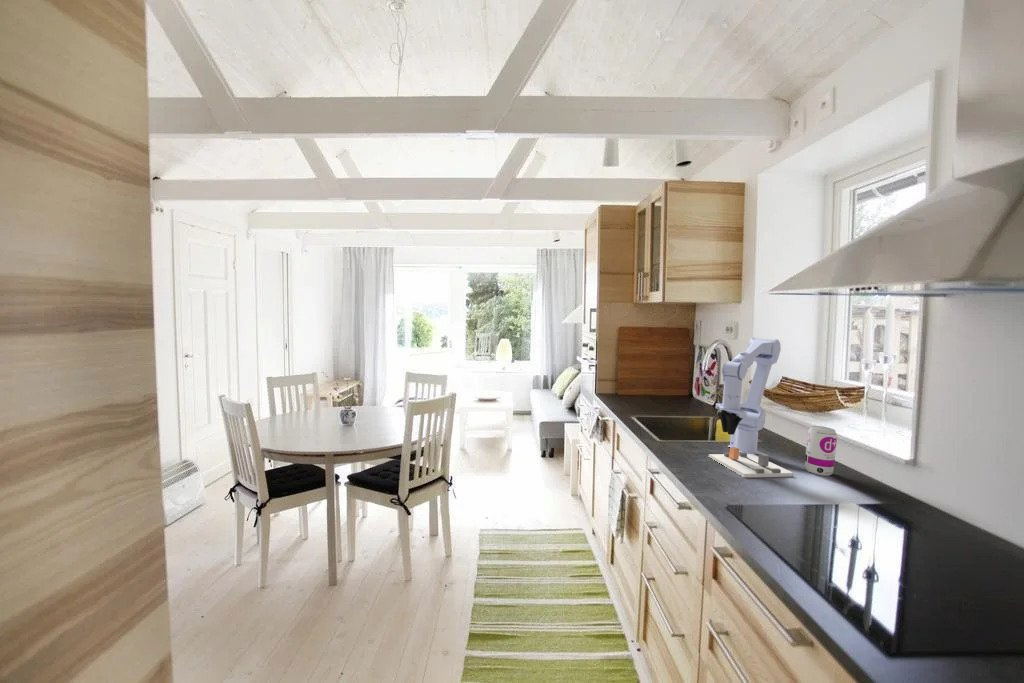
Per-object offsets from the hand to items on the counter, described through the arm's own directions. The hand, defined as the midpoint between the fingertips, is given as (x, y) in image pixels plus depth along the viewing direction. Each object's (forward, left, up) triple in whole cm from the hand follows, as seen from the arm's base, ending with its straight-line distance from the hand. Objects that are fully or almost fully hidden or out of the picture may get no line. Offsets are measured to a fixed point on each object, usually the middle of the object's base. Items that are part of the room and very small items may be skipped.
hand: (728, 433), depth 166 cm
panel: (+8, +3, -9) cm, 13 cm away
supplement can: (+14, +25, -10) cm, 30 cm away
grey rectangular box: (+11, +6, -8) cm, 15 cm away
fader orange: (+4, 0, -8) cm, 9 cm away
